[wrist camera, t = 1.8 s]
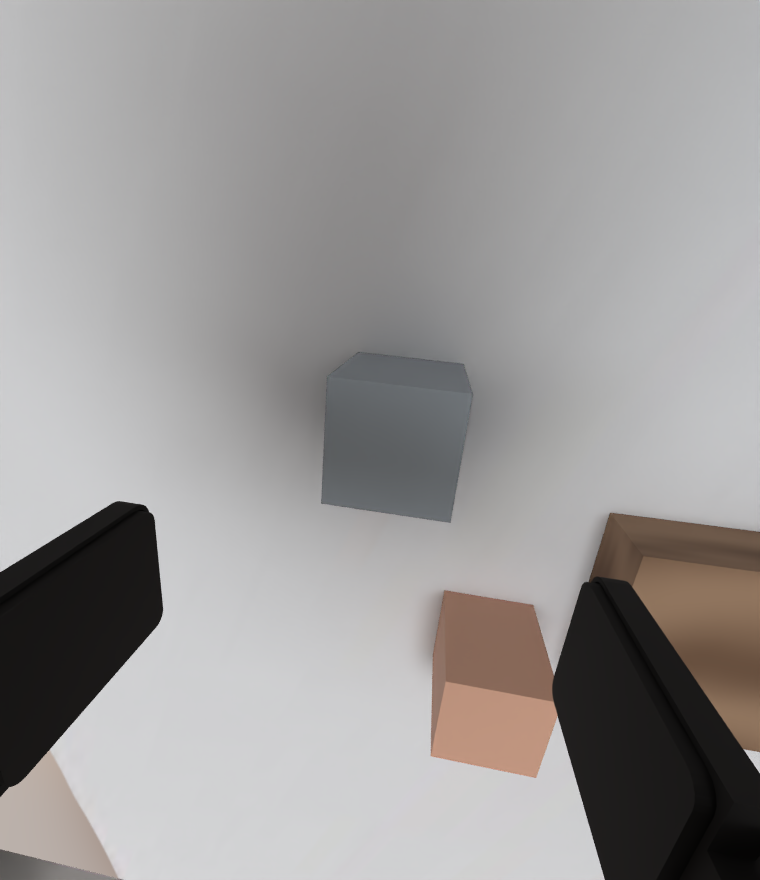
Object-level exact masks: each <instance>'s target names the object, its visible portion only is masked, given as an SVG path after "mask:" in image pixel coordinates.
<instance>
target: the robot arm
mask: <svg viewBox="0 0 760 880" xmlns="http://www.w3.org/2000/svg"><path fill="white" fill-rule="evenodd" d="M162 613H163V603H162V593H161V582H160V572H159V562H158V551H157V541H156V530H155V520H154V516H153V515H152V514H151V513H149V510H148V509H147V507H146V506H144V505H141V504H134V503H128V502H122V501H117V502H115V503H112V504H111V505H109V506H107V507H106V508H104V509H103V510H101V511H99V512H98V513H96V514H94V515H93V516H91V517H90V518H88V519H86V520H85V521H83V522H81V523H80V524H78V525H77V526H75V527H73V528H72V529H70V530H68V531H67V532H65V533H64V534H62V535H60V536H59V537H57V538H55V539H54V540H52V541H50V542H49V543H47V544H46V545H44V546H42V547H41V548H39V549H37V550H36V551H34V552H33V553H31V554H29V555H28V556H26V557H24V558H23V559H21V560H20V561H18V562H16V563H15V564H13V565H11V566H10V567H8V568H7V569H5V570H3V571H2V572H0V797H1V796H2V795H3V793H4V792H5V791H6V790H7V789H8V788H9V787H12V786H14V785H16V784H18V783H19V782H21V781H22V780H23V779H24V778H25V777H26V776H27V775H28V774H29V772H30V771H31V770H32V769H33V768H34V767H35V766H36V764H37V763H38V762H39V761H40V760H41V758H43V756H44V755H45V754H46V753H47V752H48V751H49V750H50V748H51V747H52V746H53V745H54V744H55V743H56V742H57V740H58V739H59V738H60V737H61V736H62V735H63V734H64V732H65V731H66V730H67V729H68V728H69V727H70V725H71V724H72V723H73V722H74V721H75V720H76V719H77V717H78V716H79V715H80V714H81V713H82V712H83V711H84V709H85V708H86V707H87V706H88V705H89V704H90V703H91V701H92V700H93V699H94V698H95V697H96V696H97V694H98V693H99V692H100V691H101V690H102V689H103V688H104V686H105V685H106V684H107V683H108V682H109V681H110V680H111V678H112V677H113V676H114V675H115V674H116V673H117V672H118V670H119V669H120V668H121V667H122V666H123V665H124V664H125V662H126V661H127V660H128V659H129V658H130V657H131V655H132V654H133V653H134V652H135V651H136V650H137V649H138V647H139V646H140V645H141V644H142V643H143V642H144V641H145V639H146V638H147V637H148V636H149V635H150V634H151V633H152V631H153V630H154V629H155V628H156V627H157V625H158V624H159V622H160V620H161V617H162ZM552 696H553V701H554V705H555V708H556V712H557V715H558V719H559V722H560V726H561V729H562V733H563V736H564V739H565V743H566V746H567V750H568V753H569V757H570V760H571V764H572V767H573V771H574V774H575V778H576V781H577V785H578V788H579V791H580V795H581V798H582V802H583V805H584V809H585V812H586V816H587V819H588V823H589V826H590V830H591V833H592V836H593V840H594V843H595V847H596V850H597V854H598V857H599V861H600V864H601V868H602V871H603V875H604V878H605V880H760V773H759V772H758V770H757V769H756V767H755V766H754V764H753V763H752V761H751V760H750V759H749V757H748V756H747V754H746V753H745V751H744V750H743V748H742V747H741V745H740V744H739V742H738V741H737V739H736V738H735V737H734V735H733V734H732V732H731V731H730V729H729V728H728V726H727V725H726V723H725V722H724V720H723V719H722V717H721V716H720V715H719V713H718V712H717V710H716V709H715V707H714V706H713V704H712V703H711V701H710V700H709V698H708V697H707V696H706V694H705V693H704V691H703V690H702V688H701V687H700V685H699V684H698V682H697V681H696V679H695V678H694V676H693V675H692V674H691V672H690V671H689V669H688V668H687V666H686V665H685V663H684V662H683V660H682V659H681V657H680V656H679V655H678V653H677V652H676V650H675V649H674V647H673V646H672V644H671V643H670V641H669V640H668V638H667V637H666V635H665V634H664V633H663V631H662V630H661V628H660V627H659V625H658V624H657V622H656V621H655V619H654V618H653V616H652V615H651V614H650V612H649V611H648V609H647V608H646V606H645V605H644V603H643V602H642V600H641V599H640V597H639V596H638V594H637V593H636V592H635V590H634V589H633V587H632V586H631V585H630V583H629V582H627V581H624V580H618V579H612V578H605V577H599V576H596V577H594V578H593V579H592V581H591V583H590V582H585V583H584V584H583V585H582V587H581V590H580V593H579V596H578V600H577V603H576V606H575V610H574V613H573V616H572V619H571V623H570V626H569V629H568V633H567V636H566V639H565V642H564V646H563V649H562V652H561V655H560V659H559V662H558V665H557V669H556V672H555V675H554V678H553V683H552ZM0 880H122V879H118V878H114V877H110V876H106V875H102V874H98V873H94V872H90V871H86V870H82V869H78V868H74V867H70V866H66V865H62V864H57V863H54V862H50V861H45V860H41V859H37V858H33V857H29V856H25V855H20V854H17V853H13V852H9V851H5V850H0Z"/></svg>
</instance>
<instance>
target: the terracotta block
mask: <svg viewBox="0 0 760 880" xmlns="http://www.w3.org/2000/svg"><path fill="white" fill-rule="evenodd" d="M553 678H554V675H553V671H552V668H551V665H550V661H549V658H548V654H547V651H546V647H545V644H544V641H543V637H542V634H541V630H540V627H539V624H538V620H537V617H536V613H535V610H534V606H533V605H529V604H523V603H517V602H511V601H505V600H499V599H493V598H487V597H481V596H475V595H469V594H463V593H457V592H451V591H444V596H443V602H442V607H441V613H440V619H439V624H438V630H437V635H436V641H435V646H434V652H433V674H432V720H431V756H432V757H437V758H442V759H447V760H452V761H457V762H462V763H466V764H471V765H476V766H481V767H486V768H491V769H495V770H500V771H505V772H510V773H515V774H520V775H525V776H529V777H534V778H536V777H537V774H538V771H539V768H540V765H541V762H542V759H543V756H544V753H545V751H546V748H547V745H548V742H549V739H550V736H551V733H552V730H553V727H554V725H555V722H556V719H557V716H558V715H557V712H556V708H555V705H554V701H553V696H552V683H553Z"/></svg>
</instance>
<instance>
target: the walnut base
mask: <svg viewBox="0 0 760 880" xmlns="http://www.w3.org/2000/svg"><path fill="white" fill-rule="evenodd" d="M596 576H599V577H605V578H612V579H618V580H624V581H627V582H629V583H630V585H631V586H632V587H633V589H634V590H635V592H636V593H637V594H638V596H639V597H640V599H641V600H642V602H643V603H644V605H645V606H646V608H647V609H648V611H649V612H650V614H651V615H652V616H653V618H654V619H655V621H656V622H657V624H658V625H659V627H660V628H661V630H662V631H663V633H664V634H665V635H666V637H667V638H668V640H669V641H670V643H671V644H672V646H673V647H674V649H675V650H676V652H677V653H678V655H679V656H680V657H681V659H682V660H683V662H684V663H685V665H686V666H687V668H688V669H689V671H690V672H691V674H692V675H693V676H694V678H695V679H696V681H697V682H698V684H699V685H700V687H701V688H702V690H703V691H704V693H705V694H706V696H707V697H708V698H709V700H710V701H711V703H712V704H713V706H714V707H715V709H716V710H717V712H718V713H719V715H720V716H721V717H722V719H723V720H724V722H725V723H726V725H727V726H728V728H729V729H730V731H731V732H732V734H733V735H734V737H735V738H736V739H737V741H738V742H739V744H740V745H741V747H742V748H743V749H746V750H751V751H757V752H760V532H756V531H748V530H740V529H732V528H725V527H717V526H709V525H701V524H694V523H686V522H678V521H670V520H663V519H655V518H647V517H639V516H631V515H624V514H616V513H610V515H609V518H608V521H607V525H606V528H605V531H604V534H603V538H602V541H601V544H600V547H599V551H598V554H597V557H596V560H595V563H594V567H593V570H592V573H591V576H590V580H589V582H590V583H591V581H592V579H593V578H594V577H596Z"/></svg>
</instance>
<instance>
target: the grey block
mask: <svg viewBox="0 0 760 880" xmlns="http://www.w3.org/2000/svg"><path fill="white" fill-rule="evenodd" d="M472 396H473V393H472V390H471V387H470V384H469V380H468V377H467V374H466V371H465V368H464V365H463V364H458V363H449V362H440V361H432V360H423V359H414V358H405V357H396V356H388V355H379V354H370V353H361V352H358V353H357V354H356V355H354V356H353V357H352V358H350V359H349V360H348V361H347V362H345V363H344V364H343V365H341V366H340V367H339V368H338V369H336V370H335V371H334V372H332V373H331V374H330V375H329V376H327V390H326V412H325V434H324V456H323V477H322V499H321V503H322V504H329V505H335V506H342V507H349V508H355V509H362V510H369V511H375V512H382V513H389V514H395V515H402V516H409V517H415V518H422V519H429V520H435V521H442V522H448V523H450V522H451V516H452V510H453V505H454V499H455V493H456V487H457V482H458V476H459V470H460V465H461V459H462V453H463V447H464V442H465V436H466V430H467V425H468V419H469V413H470V407H471V402H472Z"/></svg>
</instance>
